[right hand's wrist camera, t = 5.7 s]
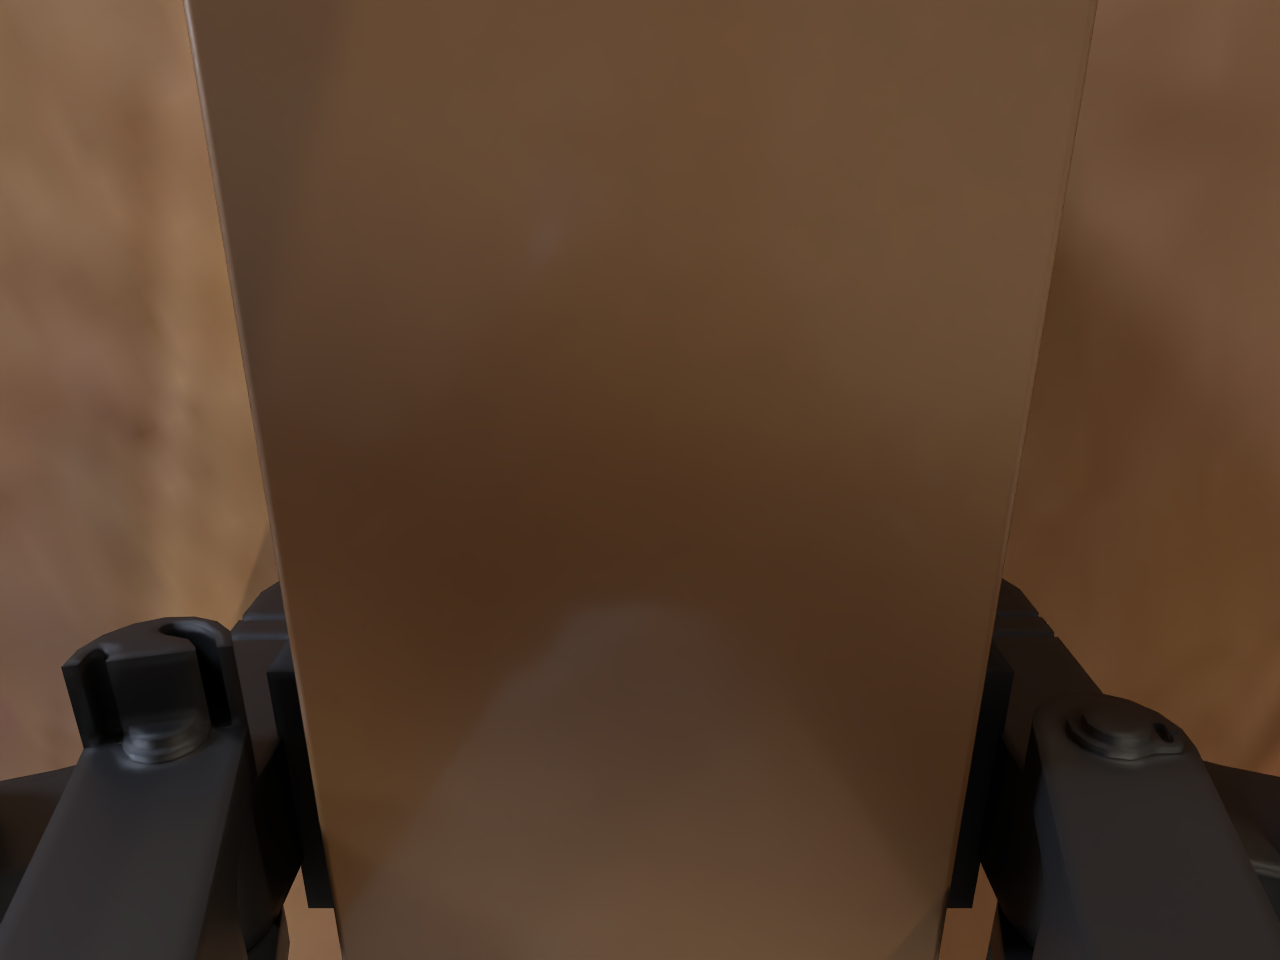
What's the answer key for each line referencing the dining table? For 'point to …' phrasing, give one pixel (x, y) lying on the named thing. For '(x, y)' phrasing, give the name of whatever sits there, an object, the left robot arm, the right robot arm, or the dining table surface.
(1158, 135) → the dining table surface
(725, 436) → the post
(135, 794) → the right robot arm
